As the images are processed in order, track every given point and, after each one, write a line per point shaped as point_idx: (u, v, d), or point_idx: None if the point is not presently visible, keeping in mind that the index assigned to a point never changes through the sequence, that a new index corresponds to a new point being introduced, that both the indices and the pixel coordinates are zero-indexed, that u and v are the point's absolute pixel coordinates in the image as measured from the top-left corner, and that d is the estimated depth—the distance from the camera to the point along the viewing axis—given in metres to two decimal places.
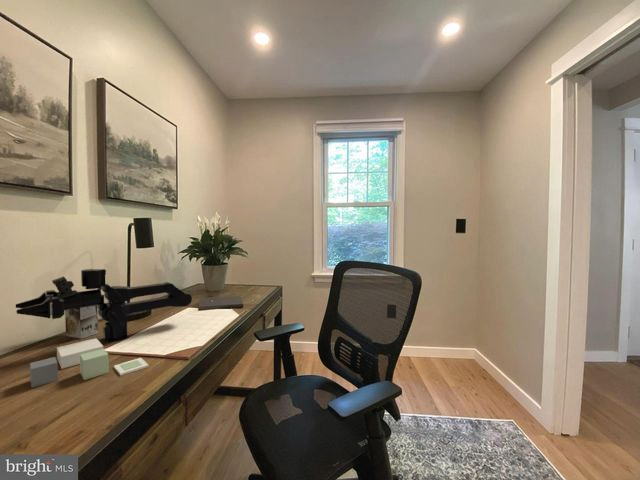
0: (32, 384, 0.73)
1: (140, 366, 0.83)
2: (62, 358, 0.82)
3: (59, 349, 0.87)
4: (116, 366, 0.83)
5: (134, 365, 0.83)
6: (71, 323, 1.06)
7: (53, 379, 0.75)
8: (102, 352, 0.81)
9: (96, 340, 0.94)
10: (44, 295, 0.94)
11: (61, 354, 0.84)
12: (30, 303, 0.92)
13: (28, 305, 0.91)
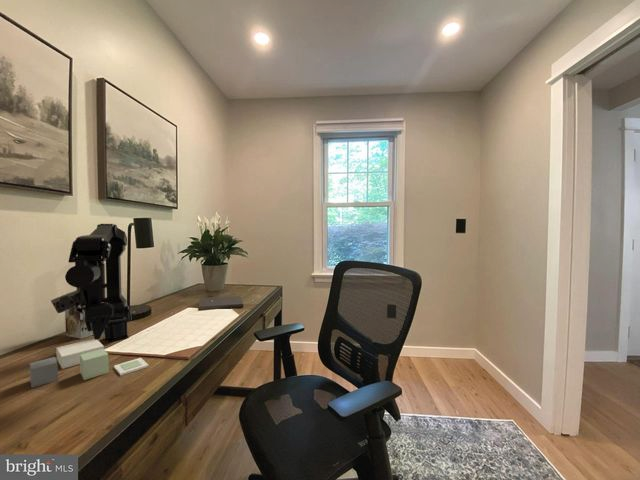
0: (32, 384, 0.73)
1: (140, 366, 0.83)
2: (63, 358, 0.82)
3: (59, 349, 0.87)
4: (116, 366, 0.83)
5: (134, 365, 0.83)
6: (71, 323, 1.06)
7: (53, 379, 0.75)
8: (102, 352, 0.81)
9: (96, 340, 0.94)
10: (80, 310, 0.81)
11: (62, 354, 0.84)
12: None
13: None
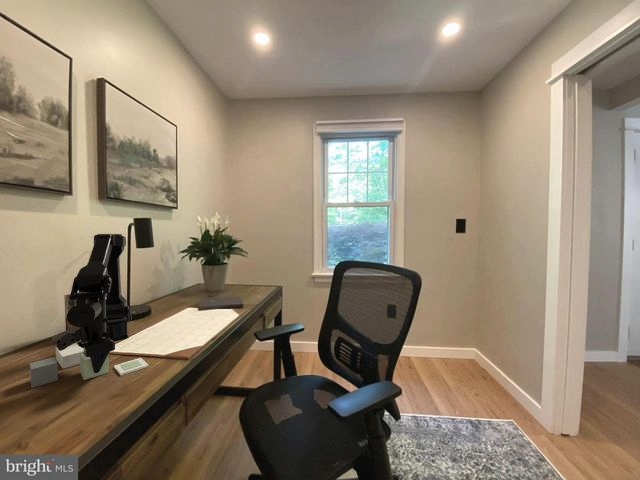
0: (32, 384, 0.73)
1: (140, 366, 0.83)
2: (63, 358, 0.82)
3: None
4: (116, 366, 0.83)
5: (134, 365, 0.83)
6: None
7: (53, 379, 0.76)
8: None
9: None
10: (82, 345, 0.81)
11: (62, 354, 0.84)
12: None
13: None
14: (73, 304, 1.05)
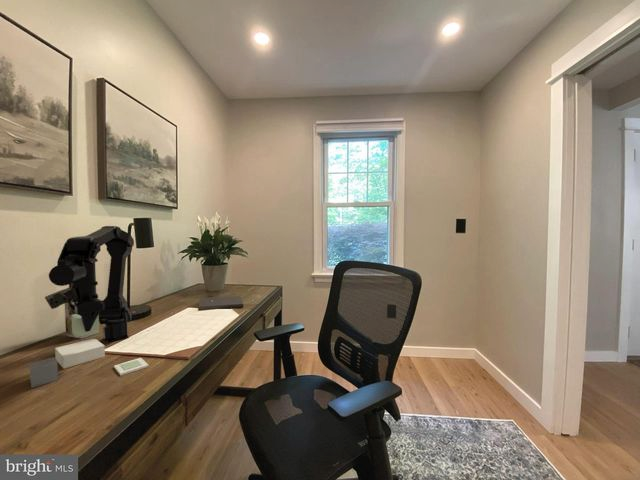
0: (32, 384, 0.73)
1: (140, 366, 0.83)
2: (64, 358, 0.82)
3: (58, 349, 0.87)
4: (116, 366, 0.83)
5: (134, 365, 0.83)
6: (71, 323, 1.06)
7: (53, 379, 0.76)
8: None
9: (95, 340, 0.94)
10: (73, 306, 0.86)
11: (62, 354, 0.84)
12: None
13: None
14: None
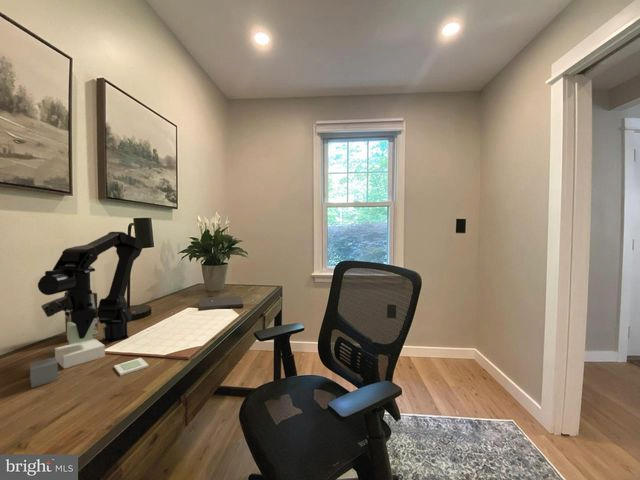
0: (32, 384, 0.73)
1: (140, 366, 0.83)
2: (65, 358, 0.82)
3: (58, 350, 0.87)
4: (116, 366, 0.83)
5: (134, 365, 0.83)
6: None
7: (53, 379, 0.76)
8: None
9: (95, 340, 0.94)
10: (68, 314, 0.90)
11: (63, 354, 0.84)
12: None
13: None
14: None
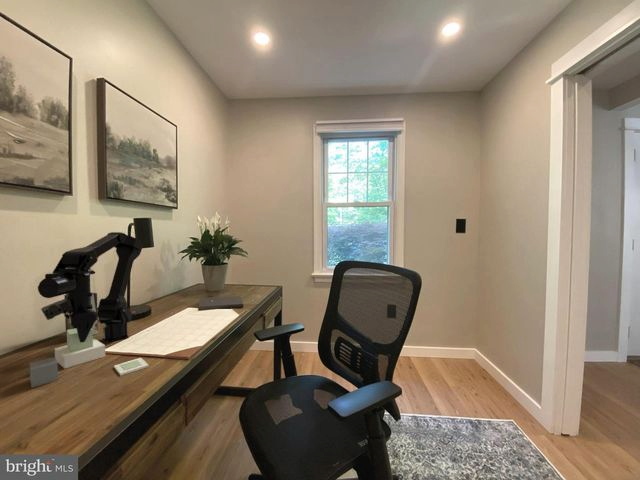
0: (32, 384, 0.73)
1: (140, 366, 0.83)
2: (65, 358, 0.82)
3: (58, 350, 0.87)
4: (116, 366, 0.83)
5: (134, 365, 0.83)
6: None
7: (53, 379, 0.76)
8: None
9: (95, 340, 0.94)
10: (68, 316, 0.90)
11: (63, 354, 0.84)
12: None
13: None
14: None
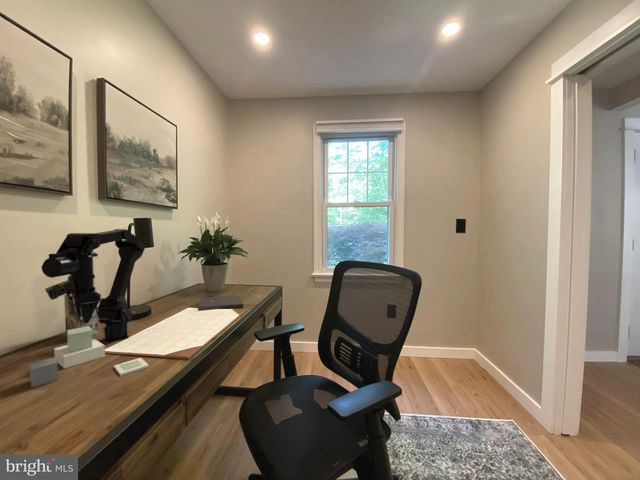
0: (32, 384, 0.73)
1: (140, 366, 0.83)
2: (65, 358, 0.82)
3: (58, 350, 0.87)
4: (116, 366, 0.83)
5: (134, 365, 0.83)
6: (71, 323, 1.06)
7: (53, 379, 0.76)
8: (87, 328, 0.90)
9: (94, 340, 0.94)
10: (71, 297, 0.92)
11: (63, 354, 0.84)
12: None
13: None
14: (73, 304, 1.05)
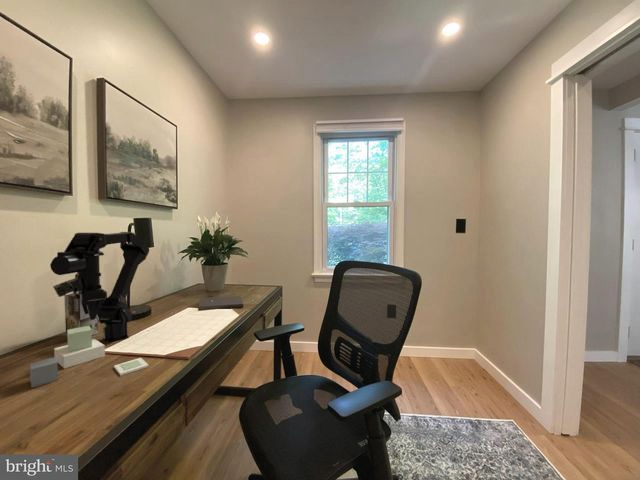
0: (32, 384, 0.73)
1: (140, 366, 0.83)
2: (65, 358, 0.83)
3: (58, 350, 0.87)
4: (116, 366, 0.83)
5: (134, 365, 0.83)
6: (71, 323, 1.06)
7: (53, 379, 0.76)
8: (86, 328, 0.90)
9: (94, 340, 0.94)
10: (78, 295, 0.95)
11: (63, 354, 0.84)
12: (85, 304, 0.96)
13: None
14: (73, 304, 1.05)
